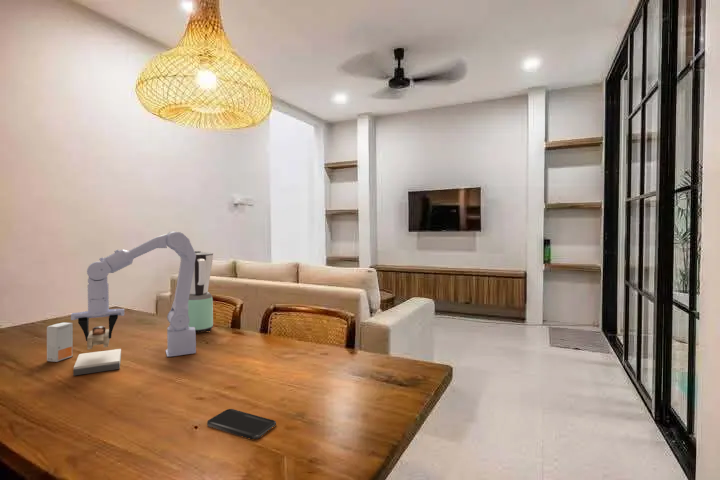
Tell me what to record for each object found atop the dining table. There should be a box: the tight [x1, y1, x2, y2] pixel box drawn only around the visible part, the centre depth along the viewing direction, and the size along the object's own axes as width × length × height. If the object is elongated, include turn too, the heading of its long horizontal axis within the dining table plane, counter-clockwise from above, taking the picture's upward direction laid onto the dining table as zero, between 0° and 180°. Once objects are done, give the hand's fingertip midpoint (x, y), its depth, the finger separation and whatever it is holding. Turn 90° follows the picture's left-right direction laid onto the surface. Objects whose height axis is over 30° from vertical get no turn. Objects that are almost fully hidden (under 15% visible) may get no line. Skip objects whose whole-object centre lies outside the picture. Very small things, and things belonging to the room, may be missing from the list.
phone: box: [206, 408, 277, 440], centre depth 91 cm, size 8×1×15 cm
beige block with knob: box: [86, 328, 111, 350], centre depth 128 cm, size 6×10×4 cm, turn 30°
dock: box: [72, 348, 122, 376], centre depth 128 cm, size 12×15×2 cm
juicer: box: [179, 250, 214, 333], centre depth 169 cm, size 19×13×35 cm
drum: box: [91, 325, 107, 335], centre depth 128 cm, size 4×4×2 cm
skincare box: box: [46, 322, 74, 363], centre depth 134 cm, size 6×4×12 cm
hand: (98, 339), depth 128 cm, fingers closed on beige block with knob, 5 cm apart
